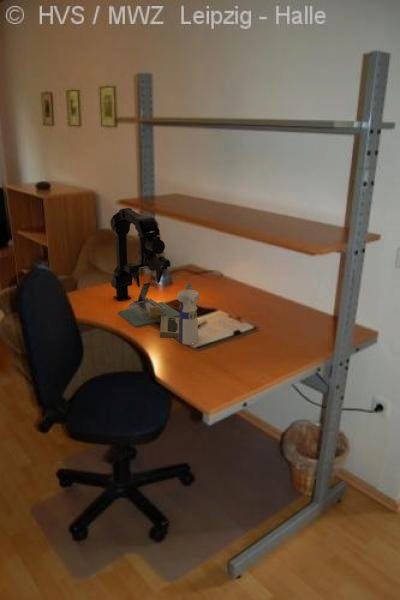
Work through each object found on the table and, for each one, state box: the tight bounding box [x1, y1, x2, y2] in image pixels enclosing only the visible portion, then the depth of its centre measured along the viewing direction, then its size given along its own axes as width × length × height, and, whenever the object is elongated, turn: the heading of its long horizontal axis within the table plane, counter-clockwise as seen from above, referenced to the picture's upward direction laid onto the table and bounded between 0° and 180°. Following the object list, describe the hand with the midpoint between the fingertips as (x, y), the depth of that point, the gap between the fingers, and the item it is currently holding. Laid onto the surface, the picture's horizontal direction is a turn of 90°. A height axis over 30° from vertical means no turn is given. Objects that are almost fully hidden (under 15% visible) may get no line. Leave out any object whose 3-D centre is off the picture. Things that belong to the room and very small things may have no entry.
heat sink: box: [128, 297, 166, 321], centre depth 202 cm, size 15×11×6 cm
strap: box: [137, 282, 151, 302], centre depth 203 cm, size 12×3×1 cm
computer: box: [159, 316, 179, 339], centre depth 190 cm, size 16×8×3 cm, turn 3°
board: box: [117, 301, 180, 329], centre depth 204 cm, size 18×22×1 cm
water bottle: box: [176, 281, 200, 346], centre depth 176 cm, size 8×9×25 cm
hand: (148, 285), depth 197 cm, fingers open, 9 cm apart
